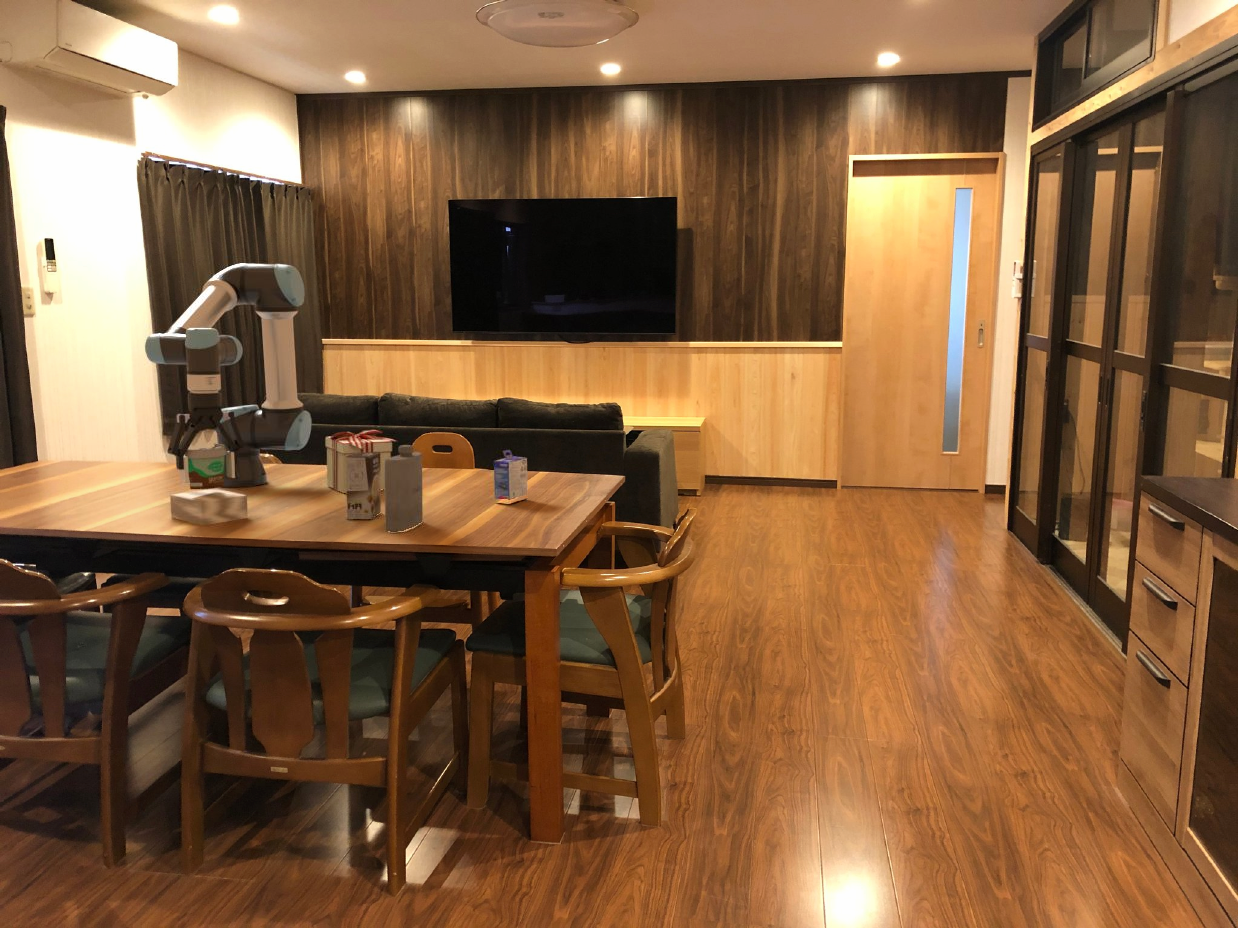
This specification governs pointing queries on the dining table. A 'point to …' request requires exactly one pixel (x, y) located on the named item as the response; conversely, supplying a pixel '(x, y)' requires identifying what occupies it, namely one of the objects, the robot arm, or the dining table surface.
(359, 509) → the coffee box
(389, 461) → the flask
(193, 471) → the food container
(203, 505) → the birch block
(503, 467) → the ink cartridge box
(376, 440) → the gift box
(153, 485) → the dining table surface
